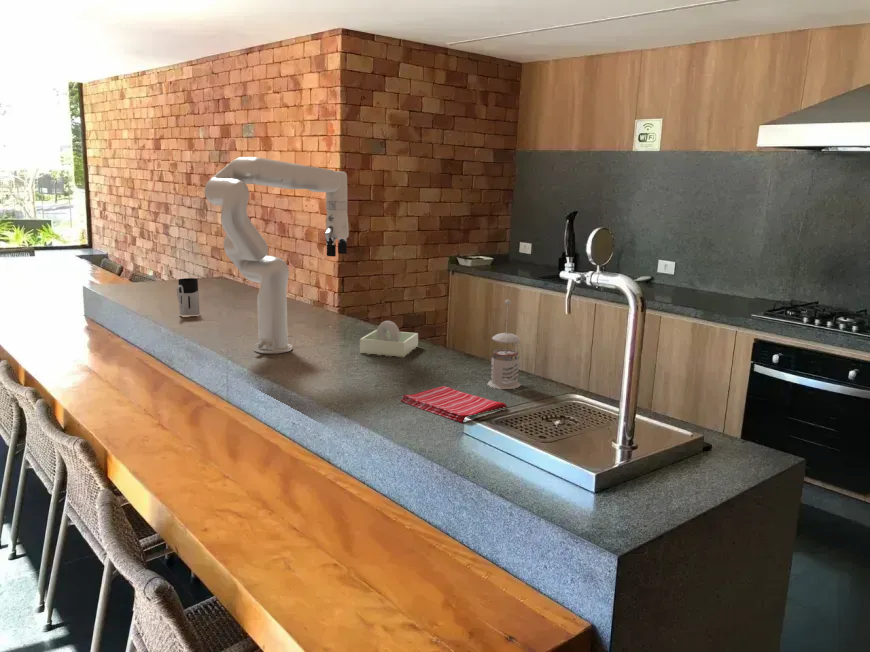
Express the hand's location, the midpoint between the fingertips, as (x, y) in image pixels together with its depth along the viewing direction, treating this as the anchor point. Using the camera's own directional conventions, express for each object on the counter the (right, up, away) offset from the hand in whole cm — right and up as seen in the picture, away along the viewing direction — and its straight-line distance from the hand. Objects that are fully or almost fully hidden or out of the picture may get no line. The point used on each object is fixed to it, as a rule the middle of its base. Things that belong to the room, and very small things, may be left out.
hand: (336, 254), depth 255 cm
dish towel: (+40, -47, -69) cm, 93 cm away
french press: (+56, -43, -49) cm, 86 cm away
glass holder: (-67, -22, +37) cm, 80 cm away
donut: (+19, -34, -13) cm, 41 cm away
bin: (+20, -34, -12) cm, 41 cm away
